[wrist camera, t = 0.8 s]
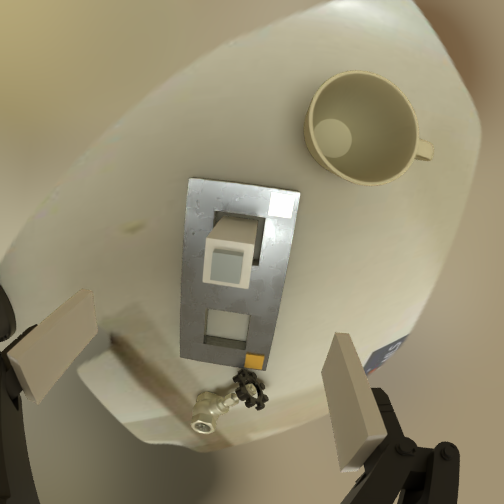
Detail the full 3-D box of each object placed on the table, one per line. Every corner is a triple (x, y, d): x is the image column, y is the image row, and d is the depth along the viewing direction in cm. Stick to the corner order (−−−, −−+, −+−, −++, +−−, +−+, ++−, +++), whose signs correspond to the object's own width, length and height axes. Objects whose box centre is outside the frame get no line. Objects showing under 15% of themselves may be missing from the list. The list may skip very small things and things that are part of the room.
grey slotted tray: (183, 349, 39) (179, 358, 37) (193, 177, 31) (188, 178, 29) (265, 361, 39) (265, 372, 37) (298, 191, 31) (300, 193, 29)
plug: (219, 248, 34) (200, 287, 23) (223, 215, 33) (203, 241, 22) (253, 253, 34) (247, 294, 23) (258, 220, 33) (254, 248, 22)
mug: (322, 197, 31) (352, 218, 20) (277, 122, 29) (284, 99, 18) (397, 156, 29) (455, 158, 18) (357, 83, 27) (399, 49, 15)
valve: (214, 412, 43) (268, 384, 40) (209, 441, 37) (268, 416, 34) (186, 391, 42) (239, 360, 39) (177, 420, 36) (235, 391, 33)
